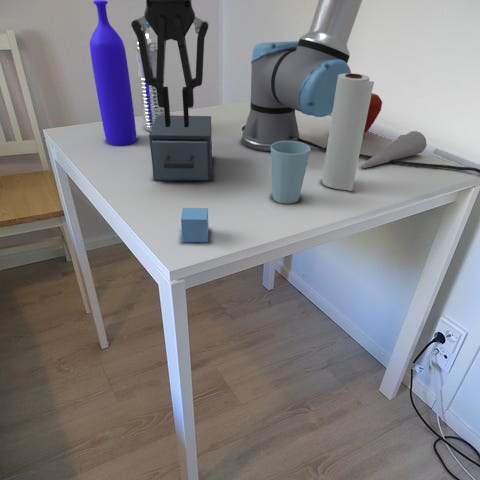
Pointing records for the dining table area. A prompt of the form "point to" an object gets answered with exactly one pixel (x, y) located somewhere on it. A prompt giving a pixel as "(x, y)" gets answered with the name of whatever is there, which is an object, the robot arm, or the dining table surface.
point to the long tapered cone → (399, 149)
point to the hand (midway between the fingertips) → (177, 124)
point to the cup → (288, 170)
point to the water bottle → (148, 91)
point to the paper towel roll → (346, 130)
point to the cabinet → (183, 134)
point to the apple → (373, 111)
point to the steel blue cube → (194, 224)
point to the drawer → (180, 159)
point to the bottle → (112, 81)
